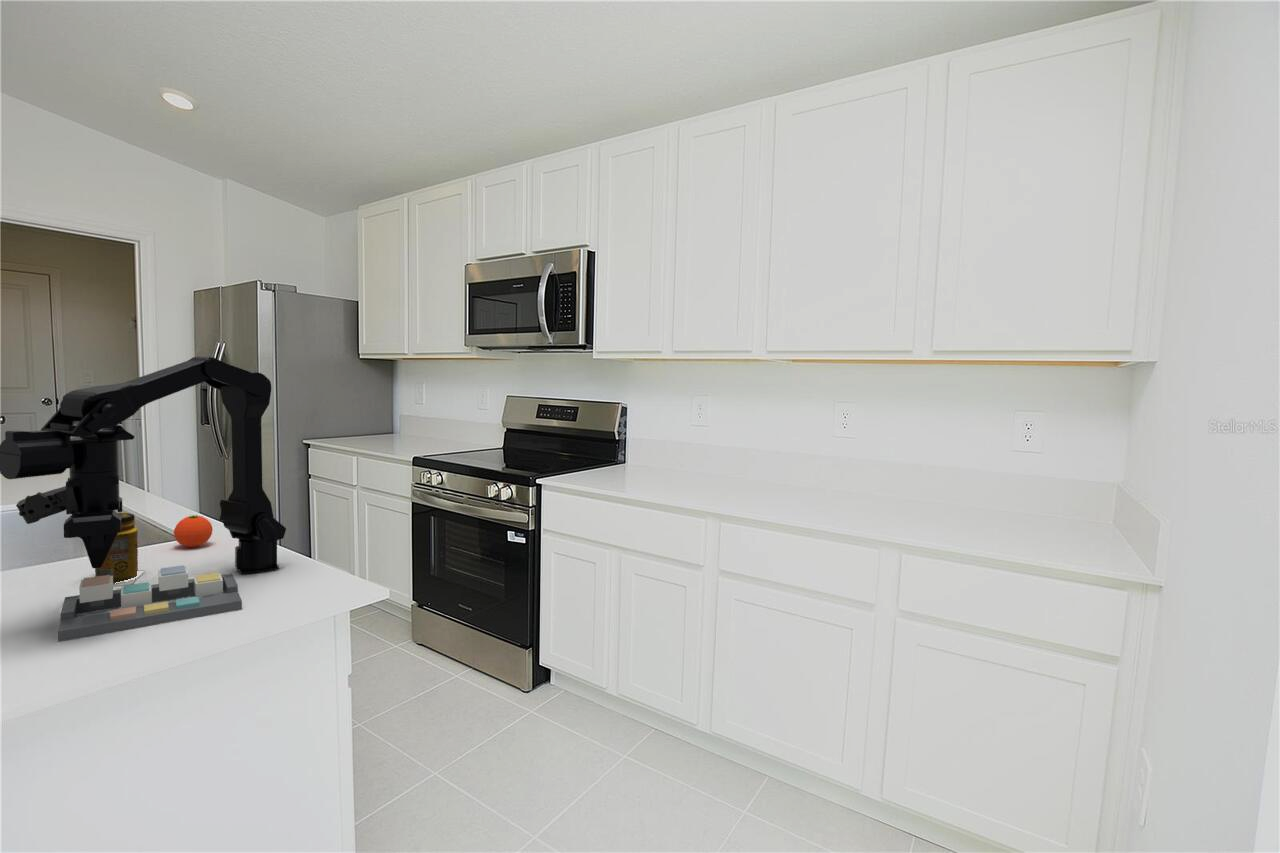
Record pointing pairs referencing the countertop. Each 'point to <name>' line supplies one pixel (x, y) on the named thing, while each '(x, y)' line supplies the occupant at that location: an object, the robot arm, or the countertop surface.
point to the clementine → (193, 531)
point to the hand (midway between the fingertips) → (97, 567)
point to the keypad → (144, 610)
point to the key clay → (96, 590)
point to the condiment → (122, 554)
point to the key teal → (136, 595)
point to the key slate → (173, 579)
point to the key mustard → (208, 585)
